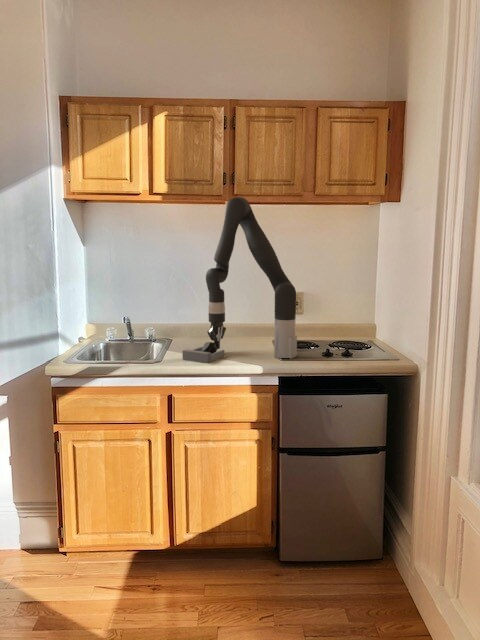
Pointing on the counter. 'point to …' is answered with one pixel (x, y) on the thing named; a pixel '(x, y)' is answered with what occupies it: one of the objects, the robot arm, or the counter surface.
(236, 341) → the counter surface
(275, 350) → the robot arm
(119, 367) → the counter surface
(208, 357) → the socket bay
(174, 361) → the counter surface
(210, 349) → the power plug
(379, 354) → the counter surface
